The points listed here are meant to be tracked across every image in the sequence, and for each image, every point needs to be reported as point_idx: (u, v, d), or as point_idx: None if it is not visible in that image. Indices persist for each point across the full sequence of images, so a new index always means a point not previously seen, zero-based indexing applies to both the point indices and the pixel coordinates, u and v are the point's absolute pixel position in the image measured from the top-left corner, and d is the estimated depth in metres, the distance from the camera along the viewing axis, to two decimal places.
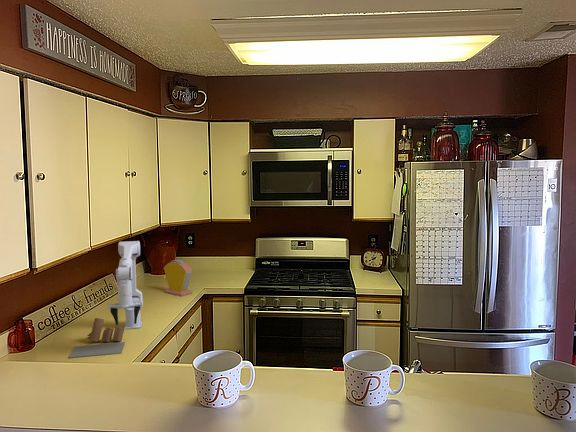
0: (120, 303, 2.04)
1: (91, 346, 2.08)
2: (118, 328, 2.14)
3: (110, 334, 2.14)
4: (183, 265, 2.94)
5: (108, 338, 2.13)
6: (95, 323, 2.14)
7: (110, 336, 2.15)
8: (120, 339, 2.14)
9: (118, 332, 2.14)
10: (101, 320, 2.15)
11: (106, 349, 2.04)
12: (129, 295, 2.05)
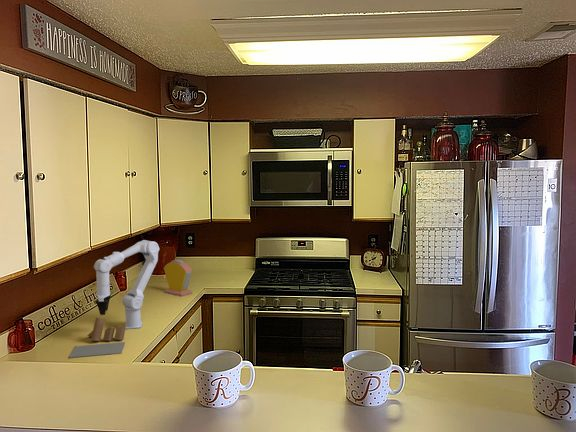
0: None
1: (91, 346, 2.08)
2: (120, 327, 2.16)
3: (112, 333, 2.16)
4: (183, 265, 2.94)
5: (110, 337, 2.14)
6: (96, 322, 2.15)
7: (112, 335, 2.16)
8: (122, 338, 2.16)
9: (120, 331, 2.15)
10: (102, 319, 2.16)
11: (106, 349, 2.04)
12: (98, 286, 2.21)
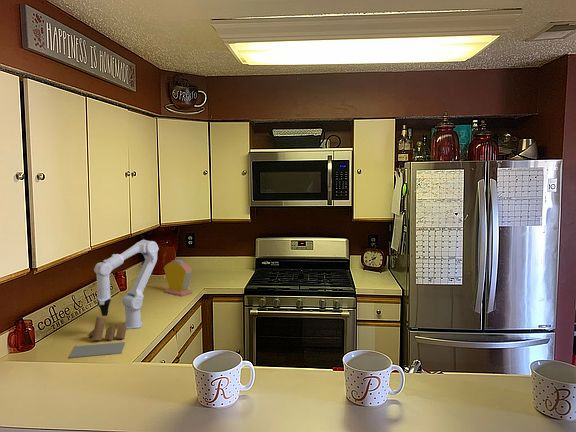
0: None
1: (91, 346, 2.08)
2: (122, 326, 2.18)
3: (113, 332, 2.17)
4: (183, 265, 2.94)
5: (111, 336, 2.16)
6: (97, 322, 2.15)
7: (113, 334, 2.17)
8: (123, 336, 2.18)
9: (121, 329, 2.17)
10: (103, 319, 2.17)
11: (106, 349, 2.04)
12: (98, 289, 2.21)
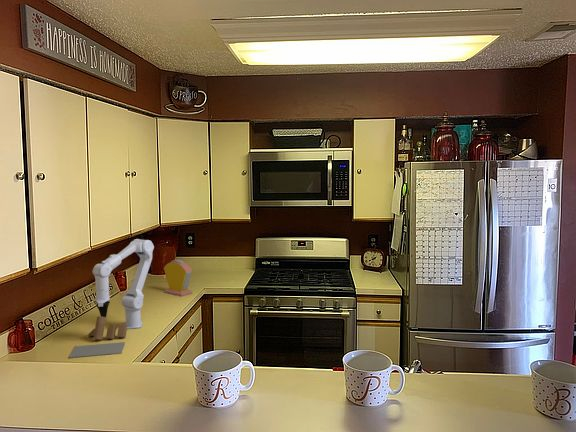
0: None
1: (91, 346, 2.08)
2: (123, 324, 2.19)
3: (114, 331, 2.18)
4: (183, 265, 2.94)
5: (113, 335, 2.17)
6: (98, 321, 2.16)
7: (114, 333, 2.18)
8: (125, 335, 2.19)
9: (123, 328, 2.18)
10: (104, 318, 2.18)
11: (106, 349, 2.04)
12: (97, 291, 2.18)
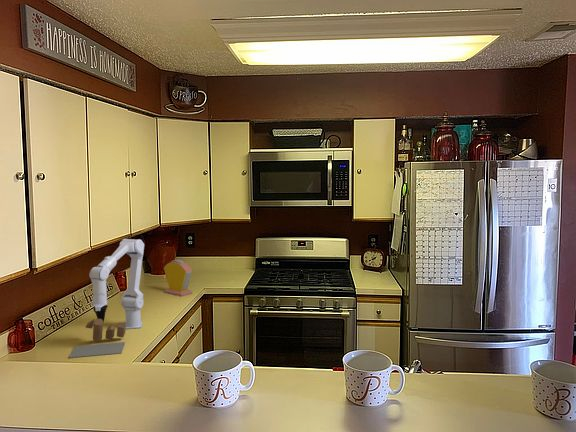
0: None
1: (91, 346, 2.08)
2: (121, 328, 2.14)
3: (113, 332, 2.15)
4: (183, 265, 2.94)
5: (112, 336, 2.15)
6: (96, 328, 2.09)
7: (113, 333, 2.16)
8: (124, 333, 2.18)
9: (122, 331, 2.14)
10: (101, 324, 2.10)
11: (106, 349, 2.04)
12: (94, 295, 2.11)
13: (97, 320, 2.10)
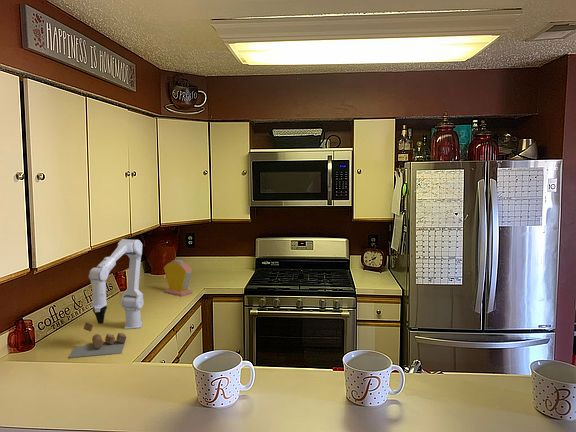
0: None
1: (91, 346, 2.08)
2: (122, 342, 2.11)
3: None
4: (183, 265, 2.94)
5: None
6: None
7: None
8: None
9: None
10: None
11: (106, 349, 2.04)
12: (94, 296, 2.09)
13: (97, 342, 2.03)
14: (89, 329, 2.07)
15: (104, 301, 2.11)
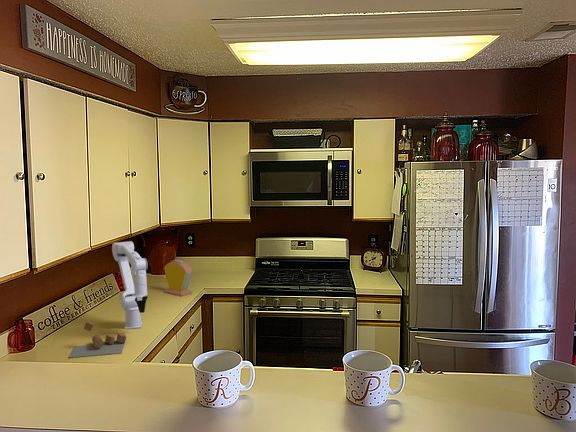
0: None
1: (91, 346, 2.08)
2: (122, 342, 2.11)
3: None
4: (183, 265, 2.94)
5: None
6: None
7: None
8: None
9: None
10: None
11: (106, 349, 2.04)
12: (135, 285, 2.21)
13: (97, 341, 2.03)
14: (89, 329, 2.07)
15: (145, 291, 2.22)
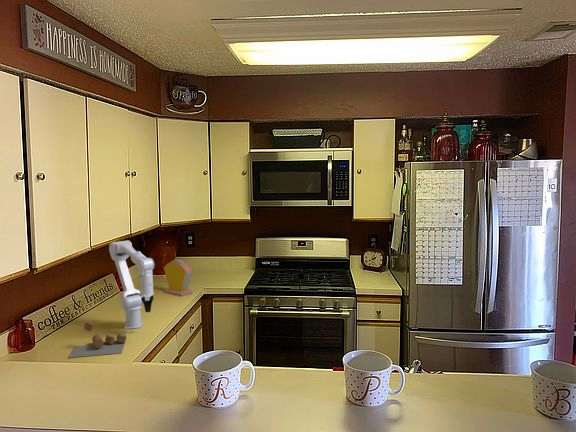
0: None
1: (91, 346, 2.08)
2: (122, 342, 2.11)
3: None
4: (183, 265, 2.94)
5: None
6: None
7: None
8: None
9: None
10: None
11: (106, 349, 2.04)
12: (142, 285, 2.21)
13: (97, 341, 2.03)
14: (89, 329, 2.07)
15: (152, 290, 2.23)
